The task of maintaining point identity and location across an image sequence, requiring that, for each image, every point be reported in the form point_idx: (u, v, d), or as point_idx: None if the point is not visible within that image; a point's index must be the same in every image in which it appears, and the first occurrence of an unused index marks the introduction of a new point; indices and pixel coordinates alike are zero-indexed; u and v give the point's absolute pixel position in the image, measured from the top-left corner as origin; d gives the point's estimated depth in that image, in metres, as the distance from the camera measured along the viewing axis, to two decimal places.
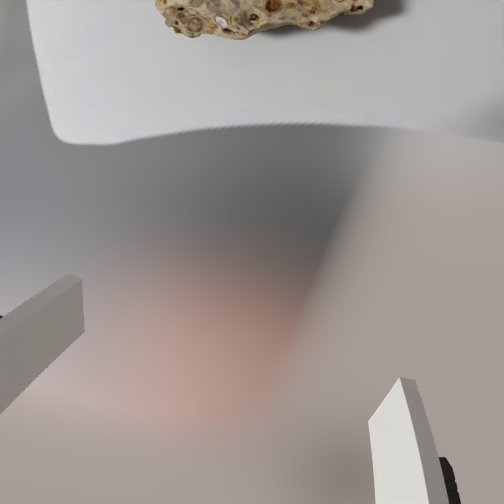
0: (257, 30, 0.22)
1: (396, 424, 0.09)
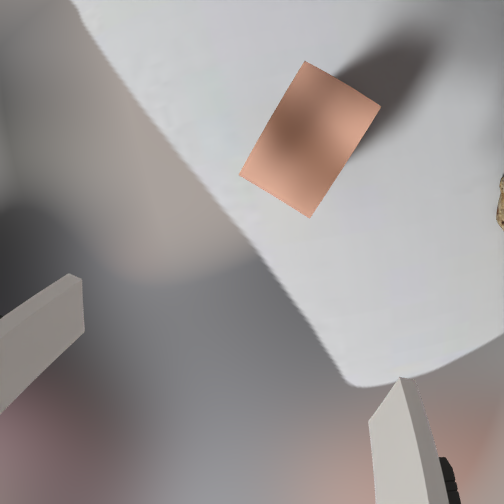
0: None
1: (396, 424, 0.09)
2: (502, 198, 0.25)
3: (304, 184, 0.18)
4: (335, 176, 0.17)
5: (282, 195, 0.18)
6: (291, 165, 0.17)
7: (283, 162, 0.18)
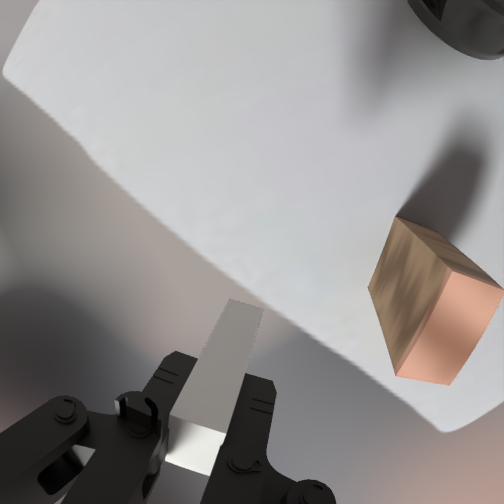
0: None
1: None
2: None
3: (447, 366, 0.17)
4: (470, 353, 0.16)
5: (430, 378, 0.18)
6: (438, 358, 0.17)
7: (432, 357, 0.17)
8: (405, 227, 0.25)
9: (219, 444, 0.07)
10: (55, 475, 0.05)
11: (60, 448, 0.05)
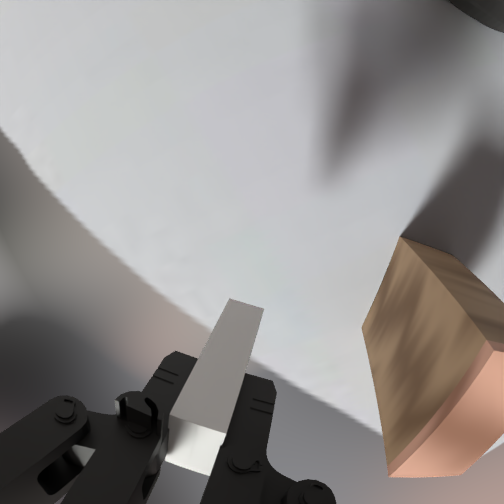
0: None
1: None
2: None
3: (462, 459, 0.10)
4: (494, 441, 0.09)
5: (437, 473, 0.10)
6: (452, 453, 0.10)
7: (443, 455, 0.10)
8: (415, 255, 0.17)
9: (219, 444, 0.07)
10: (55, 475, 0.05)
11: (60, 448, 0.05)
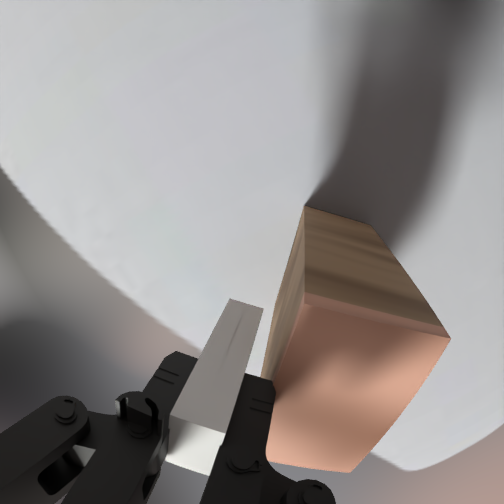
0: None
1: None
2: None
3: (337, 452, 0.10)
4: (380, 437, 0.10)
5: (309, 464, 0.11)
6: (315, 441, 0.10)
7: (302, 440, 0.10)
8: (303, 220, 0.18)
9: (219, 444, 0.07)
10: (55, 475, 0.05)
11: (60, 448, 0.05)
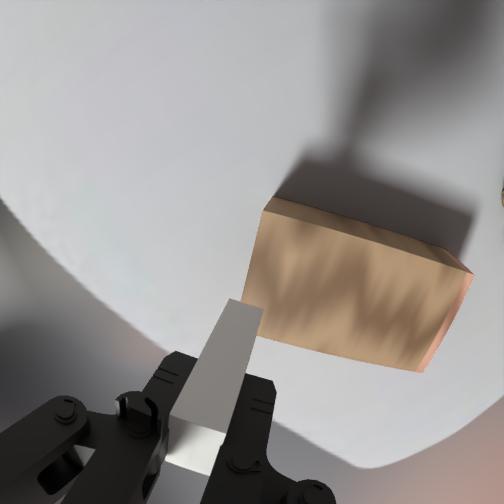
0: None
1: None
2: None
3: None
4: None
5: None
6: None
7: None
8: (329, 231, 0.17)
9: (219, 444, 0.07)
10: (55, 475, 0.05)
11: (60, 448, 0.05)
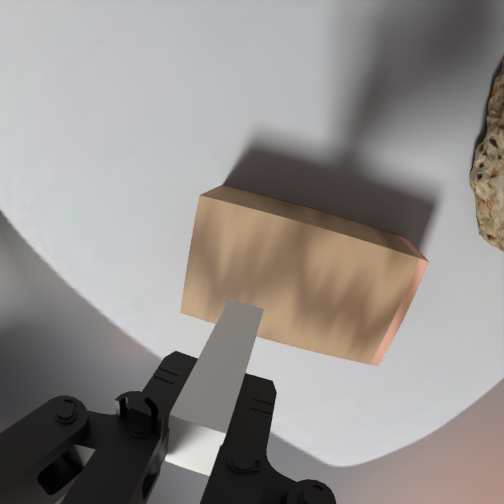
0: None
1: None
2: (479, 203, 0.18)
3: None
4: None
5: None
6: None
7: None
8: (264, 214, 0.17)
9: (219, 444, 0.07)
10: (55, 475, 0.05)
11: (60, 448, 0.05)
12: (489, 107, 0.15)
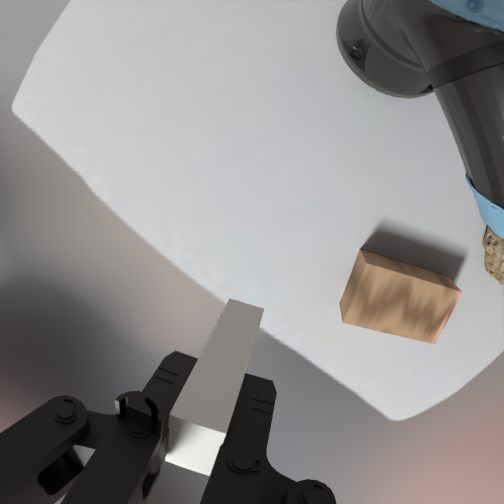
0: None
1: None
2: (487, 254, 0.33)
3: None
4: None
5: None
6: None
7: None
8: (395, 272, 0.33)
9: (219, 444, 0.07)
10: (55, 475, 0.05)
11: (60, 448, 0.05)
12: None
